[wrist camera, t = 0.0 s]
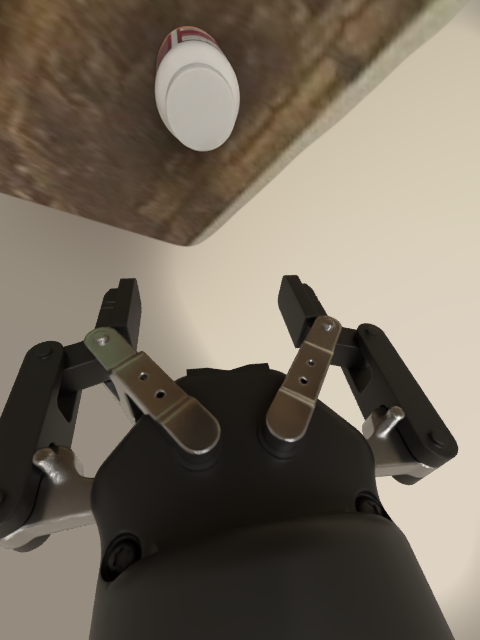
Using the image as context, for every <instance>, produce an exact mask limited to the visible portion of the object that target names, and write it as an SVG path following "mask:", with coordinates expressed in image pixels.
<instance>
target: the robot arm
mask: <svg viewBox="0 0 480 640" xmlns="http://www.w3.org/2000/svg"><path fill="white" fill-rule="evenodd" d="M278 306H279V309H280V311H281V313H282V316H283V319H284V321H285V324H286V326H287V328H288V331H289V333H290V336H291V338H292V341H293V343H294V346H295V348H300V349H299V351H298V354H297V355H296V357H295V359H294V361H293V364H292V365H291V368H290V369H289V371H288V374H287V375H286V374H284V373H282V372H279V371H276V370H272V369H269V365H268V363H263V364H262V363H261V364H249V365H246V366H242V367H239V368H236V369H233V370H220V369H212V368H199V369H187V376H185V377H182V378H179V379H177V380H176V381H173V380H172V379H171V378H170V377H169V376H168V375H167V374H166V373H165V372H164V371H163V370H162V369H161V368H160V367H159V366H158V365H157V364H156V363H155V362H154V361H153V360H152V359H151V358H150V357H149V356H148V355H147V354H146V353H145V352H143V351H141V352H139V353H138V352H137V343H138V335H139V327H140V318H141V300H140V295H139V290H138V285H137V280H136V279H135V278H128V279H120V282H119V287H118V288H115V289H110V290H109V291H108V292H107V293H106V294H105V295H104V298H103V302H102V305H101V309H100V312H99V316H98V319H97V323H96V326H95V329H94V330H92V331H90V332H89V333H88V334H87V335H86V336H85V339H84V341H81V342H79V343H76V344H72V345H69V346H65V347H63V346H62V344H61V343H59V342H56V341H46V342H42V343H39V344H37V345H35V346H34V347H32V348H31V349H30V350H29V351H28V352H27V354H26V355H25V358H24V360H23V363H22V365H21V368H20V370H19V373H18V375H17V378H16V380H15V383H14V385H13V388H12V390H11V393H10V395H9V398H8V400H7V403H6V405H5V408H4V410H3V412H2V415H1V417H0V546H1V547H3V548H6V549H13V550H15V551H18V552H28V551H31V550H33V549H35V548H37V547H39V546H40V545H42V544H43V542H45V541H46V540H47V539H48V537H49V536H50V534H51V533H56V532H60V531H64V530H69V529H73V528H77V527H81V526H86V525H90V524H94V523H96V524H97V526H98V530H99V535H100V540H101V563H100V569H99V575H98V581H97V587H96V594H95V601H94V608H93V615H92V622H91V629H90V635H89V640H455V639H454V637H453V635H452V633H451V630H450V628H449V626H448V624H447V622H446V620H445V618H444V616H443V614H442V612H441V609H440V607H439V605H438V603H437V601H436V599H435V597H434V595H433V593H432V590H431V588H430V586H429V584H428V582H427V580H426V578H425V576H424V574H423V571H422V569H421V567H420V565H419V563H418V561H417V559H416V557H415V555H414V552H413V550H412V548H411V546H410V544H409V542H408V540H407V538H406V536H405V535H404V534H403V532H402V531H401V530H400V529H399V528H398V527H397V525H396V524H395V523H394V522H393V521H392V520H391V518H390V517H389V515H388V514H387V512H386V511H385V510H384V508H383V506H382V504H381V502H380V499H379V496H378V492H377V487H376V480H375V477H381V476H392V477H393V478H394V479H395V480H397V481H398V482H400V483H402V484H405V485H413V484H415V483H416V482H418V481H419V480H421V479H422V478H424V477H425V476H427V475H428V474H430V473H431V472H433V471H434V470H436V469H437V468H439V467H440V466H442V465H443V464H445V463H446V462H448V461H449V460H451V459H452V458H454V457H455V456H456V455H457V453H458V446H457V443H456V441H455V439H454V437H453V436H452V435H451V433H450V431H449V430H448V428H447V427H446V425H445V424H444V422H443V421H442V419H441V418H440V416H439V415H438V413H437V412H436V410H435V409H434V407H433V406H432V404H431V403H430V401H429V400H428V398H427V397H426V395H425V394H424V392H423V391H422V389H421V387H420V386H419V384H418V383H417V381H416V380H415V379H414V377H413V375H412V374H411V372H410V371H409V370H408V368H407V366H406V365H405V363H404V362H403V360H402V359H401V358H400V356H399V354H398V353H397V351H396V350H395V348H394V347H393V346H392V344H391V342H390V341H389V339H388V338H387V336H386V335H385V333H384V332H383V331H382V330H381V329H380V328H378V327H377V326H375V325H372V324H368V323H367V324H366V323H364V324H361V325H359V327H358V328H357V330H355V329H350V328H344V327H342V326H341V324H340V323H339V321H337V320H336V319H334V318H332V317H329V316H328V315H327V314H326V312H325V310H324V308H323V307H322V305H321V303H320V301H318V298H317V296H316V295H315V293H314V291H313V290H312V288H311V287H309V286H308V285H307V284H302V283H301V281H300V279H299V277H298V276H297V275H285V276H283V278H282V282H281V287H280V291H279V295H278ZM329 365H336V366H341V368H342V370H343V373H344V375H345V377H346V379H347V382H348V384H349V385H350V388H351V390H352V393H353V395H354V397H355V399H356V401H357V403H358V406H359V408H360V410H361V412H362V414H363V417H364V419H365V422H364V423H363V426H362V431H363V435H364V436H363V435H362V434H361V433H360V432H359V431H358V430H357V429H356V428H355V427H354V426H352V425H351V424H350V423H348V422H347V421H346V420H344V419H343V418H342V417H340V416H339V415H338V414H337V413H336V412H334V411H333V410H332V409H330V408H329V407H328V406H326V405H325V404H324V403H323V402H321V401H320V400H319V399H318V395H319V393H320V390H321V387H322V384H323V382H324V379H325V376H326V373H327V370H328V368H329ZM100 383H102V384H103V385H104V386H105V388H106V389H107V390H108V391H109V392H110V394H111V395H112V396H113V397H114V399H115V400H116V401H117V402H118V403H119V405H120V406H121V407H122V409H123V410H124V412H125V414H126V416H127V417H128V419H129V420H130V422H131V423H132V424H133V425H134V426H133V428H132V429H131V430H130V431H129V433H128V434H127V435H126V436H125V437H124V438H123V440H122V441H121V442H120V443H119V444H118V446H117V447H116V448H115V449H114V450H113V452H112V453H111V454H110V455H109V456H108V457H107V459H106V460H105V461H104V462H103V464H102V465H101V466H100V468H99V470H98V471H97V473H96V476H95V478H86V477H84V476H83V465H82V463H81V462H80V460H79V459H78V458H77V456H76V455H75V454H74V452H73V451H72V450H71V444H72V438H73V434H74V429H75V424H76V419H77V413H78V408H79V403H80V398H81V393H82V389H85V388H88V387H91V386H94V385H97V384H100Z"/></svg>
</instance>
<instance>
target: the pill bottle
mask: <svg viewBox="0 0 480 640" xmlns="http://www.w3.org/2000/svg"><path fill="white" fill-rule="evenodd" d="M155 98H156V104H157V108H158V111H159V114H160V116H161V119H162V120H163V122H164V124H165V125H166V127H167V128H168V130H169V131H170V132H171V133H172V134H173V135H174V136H175V137H176V138H177V139H178V140H179V141H180V142H181V143H183V144H184V145H185V146H187V147H189V148H191V149H193V150H197V151H209V150H213V149H215V148H217V147H219V146H220V145H222V144H223V143H224V142H225V141H226V140H227V138H228V137H229V136H230V134H231V132H232V130H233V127H234V124H235V121H236V118H237V115H238V111H239V104H240V93H239V86H238V82H237V78H236V75H235V73H234V71H233V68H232V66H231V65H230V63H229V61H228V60H227V58H226V57H225V55H224V54H223V52H222V50H221V49H220V47H219V46H218V44H217V43H216V41H215V40H214V39H213V38H212V37H211V36H210V35H209V34H208V33H206V32H205V31H203V30H201V29H199V28H196V27H192V26H184V27H180V28H177V29H175V30H174V31H172V32H171V33H170V34H168V35H167V37H166V38H165V39H164V41H163V43H162V45H161V47H160V49H159V52H158V56H157V62H156V78H155Z"/></svg>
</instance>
